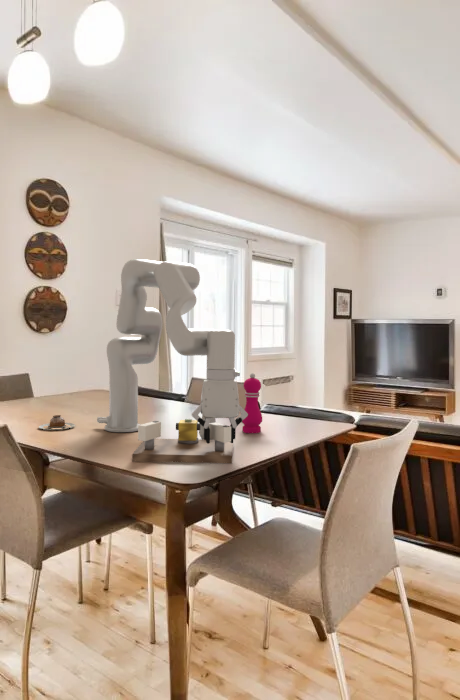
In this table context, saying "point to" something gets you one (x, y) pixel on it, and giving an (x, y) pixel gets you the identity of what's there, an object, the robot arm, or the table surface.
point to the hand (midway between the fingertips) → (219, 441)
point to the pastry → (56, 423)
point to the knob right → (220, 435)
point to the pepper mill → (252, 406)
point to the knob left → (149, 433)
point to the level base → (184, 448)
